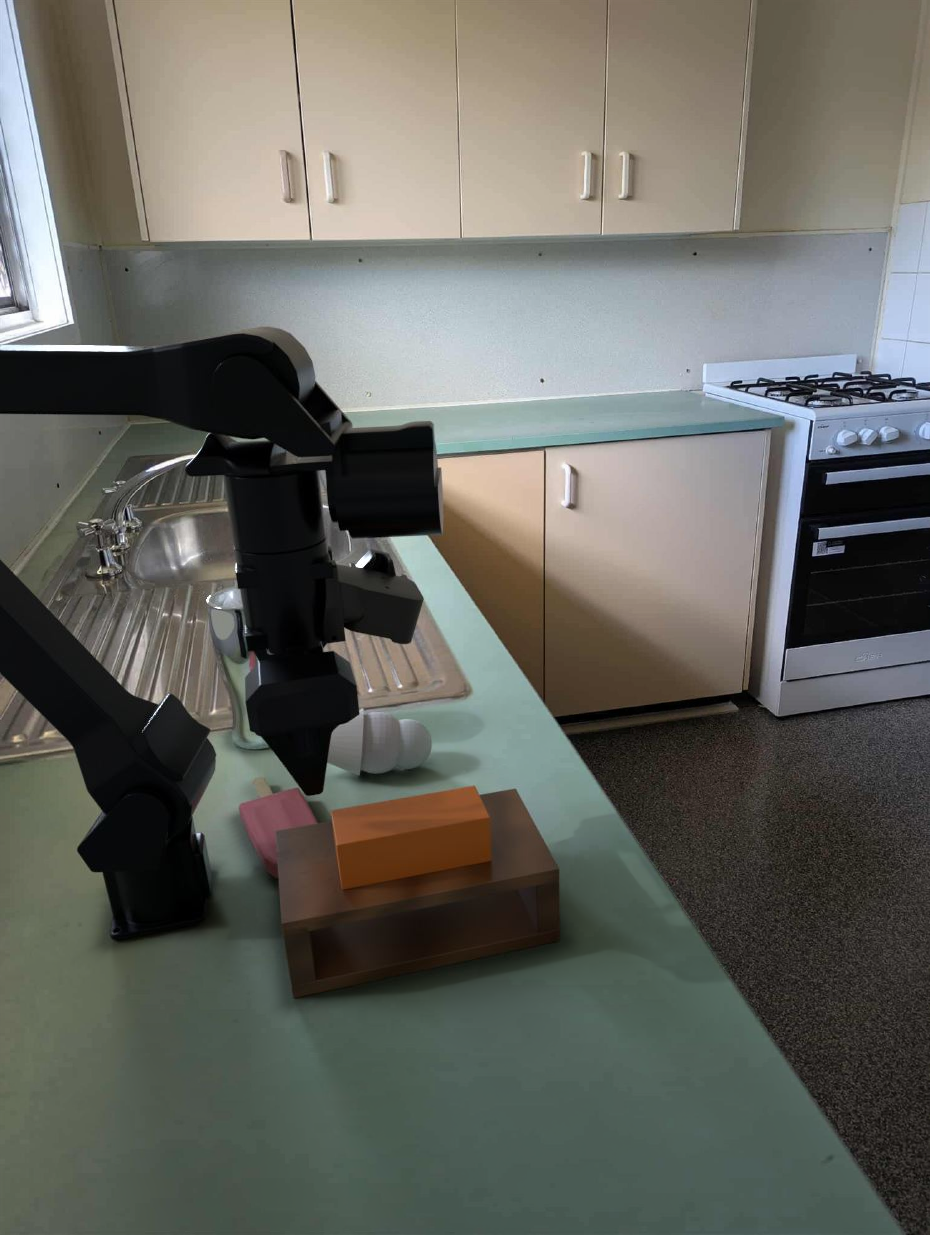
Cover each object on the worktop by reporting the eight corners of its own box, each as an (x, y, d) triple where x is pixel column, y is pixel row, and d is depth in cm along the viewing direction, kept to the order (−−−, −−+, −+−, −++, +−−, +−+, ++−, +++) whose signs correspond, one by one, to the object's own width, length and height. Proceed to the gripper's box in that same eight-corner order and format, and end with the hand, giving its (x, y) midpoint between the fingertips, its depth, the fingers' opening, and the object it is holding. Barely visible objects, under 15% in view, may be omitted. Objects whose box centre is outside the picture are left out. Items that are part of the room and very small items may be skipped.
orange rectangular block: (342, 890, 56) (336, 845, 55) (335, 853, 60) (330, 810, 59) (491, 861, 58) (489, 817, 57) (477, 827, 62) (474, 784, 61)
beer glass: (214, 746, 87) (188, 605, 81) (253, 714, 93) (232, 580, 87) (274, 756, 84) (252, 612, 78) (311, 723, 90) (293, 586, 84)
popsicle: (285, 763, 80) (337, 851, 67) (287, 778, 80) (339, 868, 68) (227, 779, 78) (268, 873, 65) (229, 794, 78) (271, 890, 66)
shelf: (293, 998, 56) (281, 923, 54) (285, 898, 65) (275, 830, 63) (560, 941, 59) (559, 868, 57) (517, 853, 69) (515, 788, 66)
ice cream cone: (265, 776, 81) (426, 782, 83) (261, 766, 75) (435, 773, 77) (270, 711, 82) (428, 719, 85) (267, 696, 77) (436, 705, 79)
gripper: (437, 570, 48) (453, 812, 53) (385, 494, 64) (401, 684, 70) (227, 596, 45) (267, 846, 51) (230, 510, 62) (260, 705, 68)
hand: (309, 758), depth 60 cm, fingers open, 9 cm apart
